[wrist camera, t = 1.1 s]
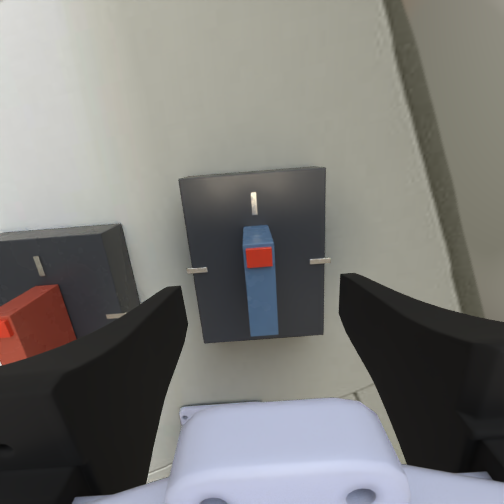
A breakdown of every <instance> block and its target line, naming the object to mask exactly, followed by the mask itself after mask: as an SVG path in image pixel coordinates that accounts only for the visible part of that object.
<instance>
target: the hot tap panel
mask: <svg viewBox="0 0 504 504" xmlns="http://www.w3.org/2000/svg"><path fill="white" fill-rule="evenodd" d="M55 284H58V285H59V288H60V291H61V294H62V297H63V300H64V303H65V306H66V309H67V312H68V315H69V318H70V321H71V324H72V327H73V330H74V333H75V336H76V339H78V338H81V337H83V336H85V335H88V334H90V333H92V332H94V331H96V330H98V329H100V328H102V327H104V326H106V325H107V324H109V323H111V322H113V321H115V320H116V319H118V318H120V317H121V316H123V315H124V314H126V313H128V312H129V311H131V310H132V309H134V308H136V307H137V306H139V305H140V302H139V298H138V294H137V289H136V285H135V281H134V277H133V272H132V268H131V264H130V260H129V255H128V251H127V247H126V243H125V238H124V234H123V230H122V226H121V224H109V225H96V226H83V227H71V228H58V229H45V230H32V231H19V232H6V233H0V306H2V305H4V304H6V303H7V302H9V301H11V300H12V299H14V298H16V297H17V296H19V295H21V294H23V293H24V292H26V291H28V290H29V289H31V288H33V287H35V286H42V285H55Z"/></svg>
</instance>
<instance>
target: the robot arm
mask: <svg viewBox="0 0 504 504" xmlns="http://www.w3.org/2000/svg"><path fill="white" fill-rule="evenodd" d="M339 315H340V318H341V321H342V323H343V326H344V328H345V331H346V333H347V335H348V337H349V338H350V340H351V342H352V344H353V346H354V347H355V349H356V351H357V353H358V355H359V356H360V358H361V360H362V362H363V363H364V365H365V367H366V369H367V370H368V372H369V374H370V376H371V378H372V380H373V382H374V384H375V386H376V388H377V390H378V393H379V395H380V397H381V400H382V402H383V404H384V407H385V409H386V411H387V414H388V416H389V419H390V421H391V424H392V426H393V429H394V431H395V434H396V436H397V439H398V441H399V444H400V447H401V449H402V452H403V455H404V457H405V460H406V463H407V465H406V464H401V463H400V461H399V459H398V457H397V455H396V452H395V450H394V448H393V446H392V444H391V442H390V440H389V438H388V436H387V434H386V432H385V430H384V428H383V426H382V424H381V422H380V420H379V418H378V416H377V414H376V413H375V412H374V411H372V410H371V409H369V408H368V407H367V406H365V405H364V404H362V403H361V402H360V401H356V400H349V399H341V398H334V397H329V398H314V399H299V400H284V401H269V402H259V401H254V402H241V403H227V404H213V405H199V406H186V407H182V408H181V409H180V411H179V415H180V420H181V425H182V427H181V431H180V435H179V439H178V443H177V447H176V451H175V456H174V460H173V464H172V468H171V472H170V476H169V477H166V478H163V479H160V480H157V481H154V482H150V483H147V484H146V482H147V477H148V472H149V467H150V462H151V457H152V452H153V447H154V442H155V438H156V433H157V429H158V425H159V420H160V416H161V412H162V408H163V404H164V400H165V396H166V393H167V390H168V387H169V384H170V381H171V379H172V376H173V373H174V370H175V368H176V365H177V362H178V359H179V357H180V354H181V351H182V348H183V345H184V342H185V337H186V332H187V327H188V321H187V316H186V310H185V305H184V300H183V295H182V290H181V286H171V287H166V288H164V289H162V290H161V291H159V292H158V293H156V294H155V295H153V296H152V297H150V298H149V299H147V300H146V301H144V302H143V303H141V304H140V305H139V306H137V307H136V308H134V309H132V310H131V311H129V312H128V313H126V314H124V315H123V316H121V317H120V318H118V319H116V320H115V321H113V322H111V323H109V324H107V325H106V326H104V327H102V328H100V329H98V330H96V331H94V332H92V333H90V334H88V335H85V336H83V337H81V338H78V339H76V340H74V341H72V342H69V343H67V344H65V345H62V346H60V347H57V348H54V349H52V350H49V351H46V352H43V353H41V354H38V355H35V356H32V357H29V358H26V359H23V360H19V361H16V362H13V363H9V364H6V365H2V366H0V504H504V322H500V321H495V320H489V319H484V318H480V317H475V316H471V315H467V314H463V313H459V312H455V311H451V310H447V309H444V308H441V307H437V306H434V305H431V304H428V303H425V302H422V301H419V300H417V299H414V298H411V297H409V296H406V295H404V294H401V293H399V292H397V291H394V290H392V289H390V288H388V287H385V286H383V285H381V284H379V283H377V282H375V281H373V280H370V279H368V278H366V277H364V276H361V275H359V274H356V273H347V274H340V296H339Z"/></svg>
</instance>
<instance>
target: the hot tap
mask: <svg viewBox="0 0 504 504" xmlns="http://www.w3.org/2000/svg"><path fill="white" fill-rule="evenodd" d="M74 340H76V336H75V333H74V330H73V327H72V324H71V321H70V318H69V315H68V312H67V309H66V306H65V303H64V300H63V297H62V294H61V291H60V288H59V285H58V284H55V285H42V286H35V287H33V288H31V289H29V290H28V291H26V292H24V293H23V294H21V295H19V296H17V297H16V298H14V299H12V300H11V301H9V302H7V303H6V304H4V305H2V306H0V362H1V364H2V365H6V364H9V363H13V362H16V361H19V360H23V359H26V358H29V357H32V356H35V355H38V354H41V353H43V352H46V351H49V350H52V349H54V348H57V347H60V346H62V345H65V344H67V343H69V342H72V341H74Z"/></svg>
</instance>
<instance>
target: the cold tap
mask: <svg viewBox="0 0 504 504" xmlns="http://www.w3.org/2000/svg"><path fill="white" fill-rule="evenodd" d="M242 247H243V258H244V269H245V280H246V291H247V302H248V313H249V325H250V336H251V337H254V336H267V335H278V334H279V332H278V312H277V292H276V272H275V252H274V241H273V238H272V236H271V233H270V230H269V227H268V225H259V226H246V227H243V244H242Z"/></svg>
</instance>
